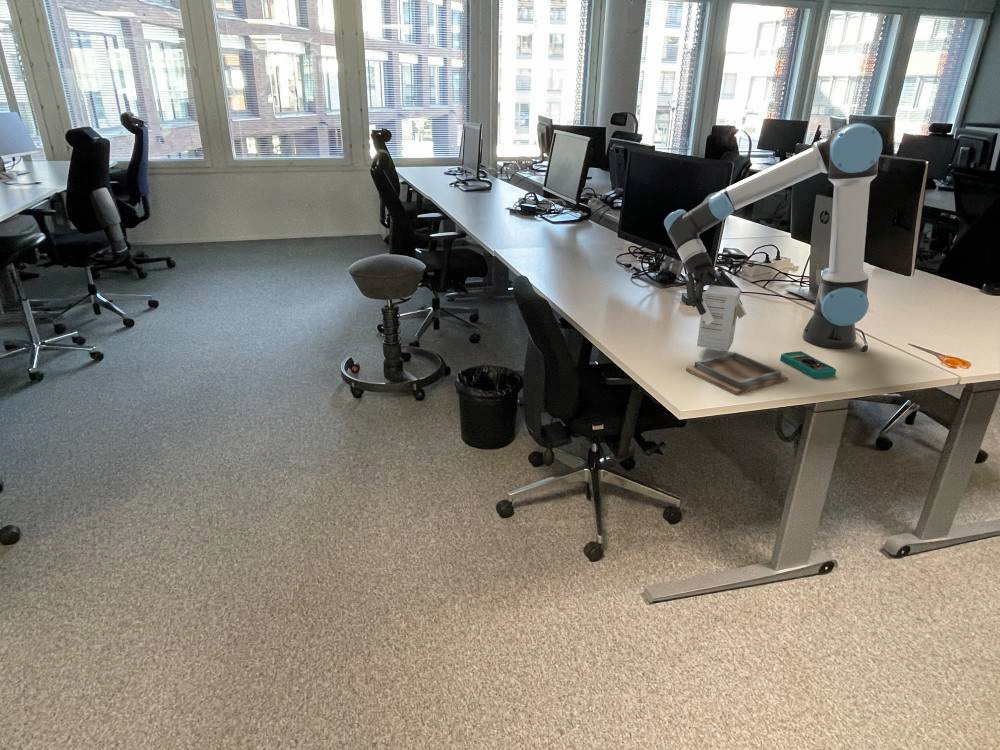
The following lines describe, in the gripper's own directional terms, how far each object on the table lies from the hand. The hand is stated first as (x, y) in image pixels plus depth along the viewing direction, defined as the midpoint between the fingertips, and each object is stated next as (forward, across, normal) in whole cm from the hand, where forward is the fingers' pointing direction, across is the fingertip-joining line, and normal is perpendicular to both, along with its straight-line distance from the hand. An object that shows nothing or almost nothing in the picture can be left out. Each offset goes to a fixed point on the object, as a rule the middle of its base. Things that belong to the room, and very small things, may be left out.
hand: (727, 319), depth 184 cm
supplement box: (+4, 0, -8) cm, 9 cm away
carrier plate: (+17, +8, +1) cm, 19 cm away
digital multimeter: (+21, -14, +4) cm, 26 cm away
